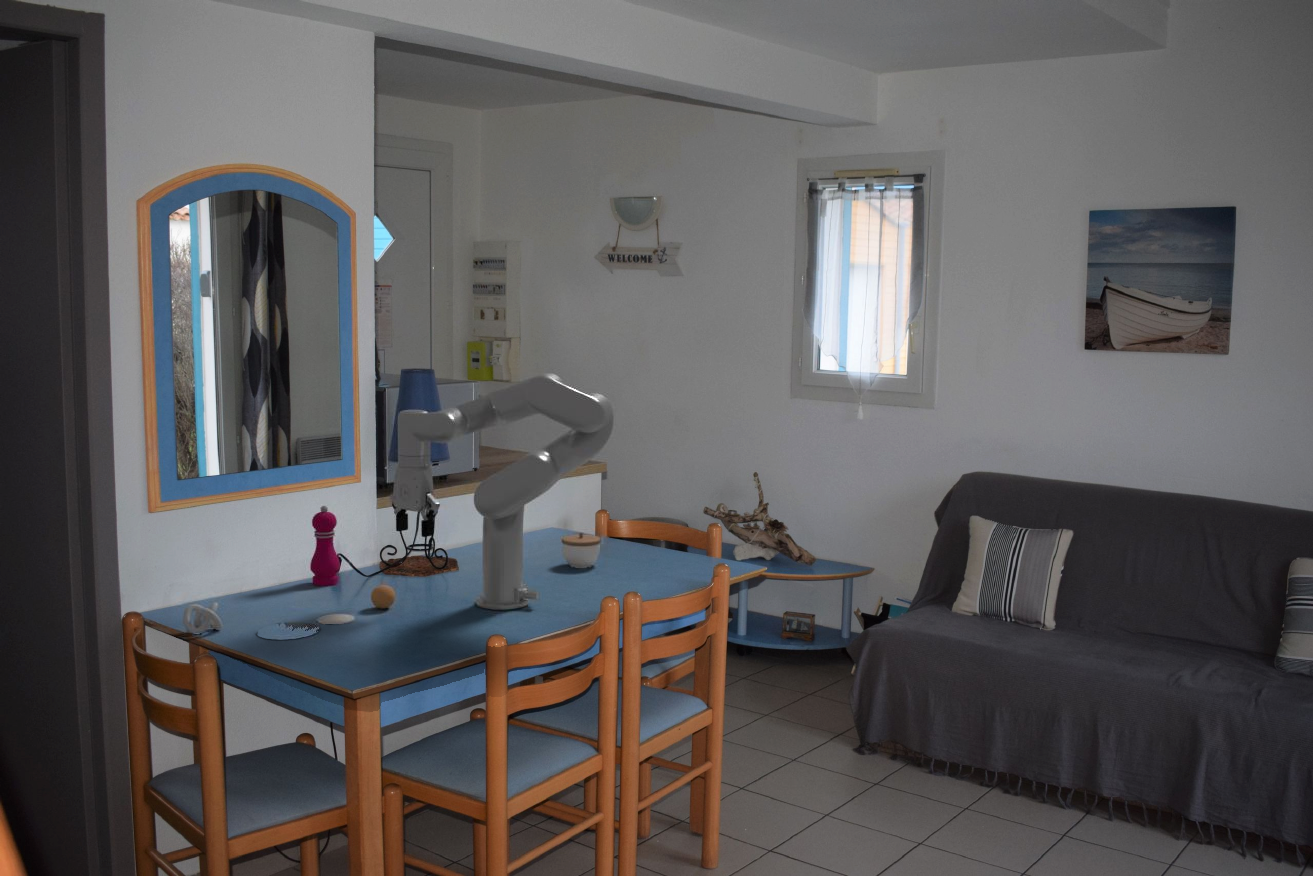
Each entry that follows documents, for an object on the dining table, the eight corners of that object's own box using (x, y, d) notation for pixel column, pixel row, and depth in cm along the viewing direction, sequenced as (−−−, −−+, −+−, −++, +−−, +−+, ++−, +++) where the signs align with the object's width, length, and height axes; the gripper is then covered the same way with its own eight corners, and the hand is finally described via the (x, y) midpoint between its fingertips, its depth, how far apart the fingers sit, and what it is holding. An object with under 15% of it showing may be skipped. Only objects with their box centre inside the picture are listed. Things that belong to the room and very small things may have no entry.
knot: (192, 625, 238) (191, 599, 238) (230, 625, 239) (229, 599, 238) (180, 635, 231) (179, 609, 230) (218, 635, 231) (218, 608, 231)
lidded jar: (607, 564, 302) (608, 531, 301) (585, 572, 293) (585, 538, 292) (576, 559, 308) (577, 527, 307) (553, 566, 299) (553, 533, 298)
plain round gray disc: (361, 616, 247) (361, 615, 247) (342, 626, 239) (342, 625, 239) (329, 613, 249) (329, 612, 249) (310, 623, 241) (310, 622, 241)
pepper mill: (346, 581, 279) (344, 504, 276) (328, 587, 272) (327, 509, 270) (322, 578, 281) (320, 502, 279) (304, 585, 274) (303, 507, 272)
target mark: (331, 625, 240) (331, 624, 240) (298, 642, 227) (298, 641, 227) (278, 620, 243) (278, 620, 243) (243, 637, 230) (243, 636, 230)
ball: (399, 606, 256) (399, 583, 256) (388, 612, 251) (388, 589, 250) (378, 604, 258) (378, 581, 257) (366, 610, 252) (366, 587, 252)
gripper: (378, 459, 260) (379, 530, 262) (425, 467, 250) (425, 541, 252) (403, 457, 266) (404, 526, 268) (450, 464, 255) (450, 536, 257)
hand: (414, 533), depth 260 cm, fingers open, 9 cm apart
